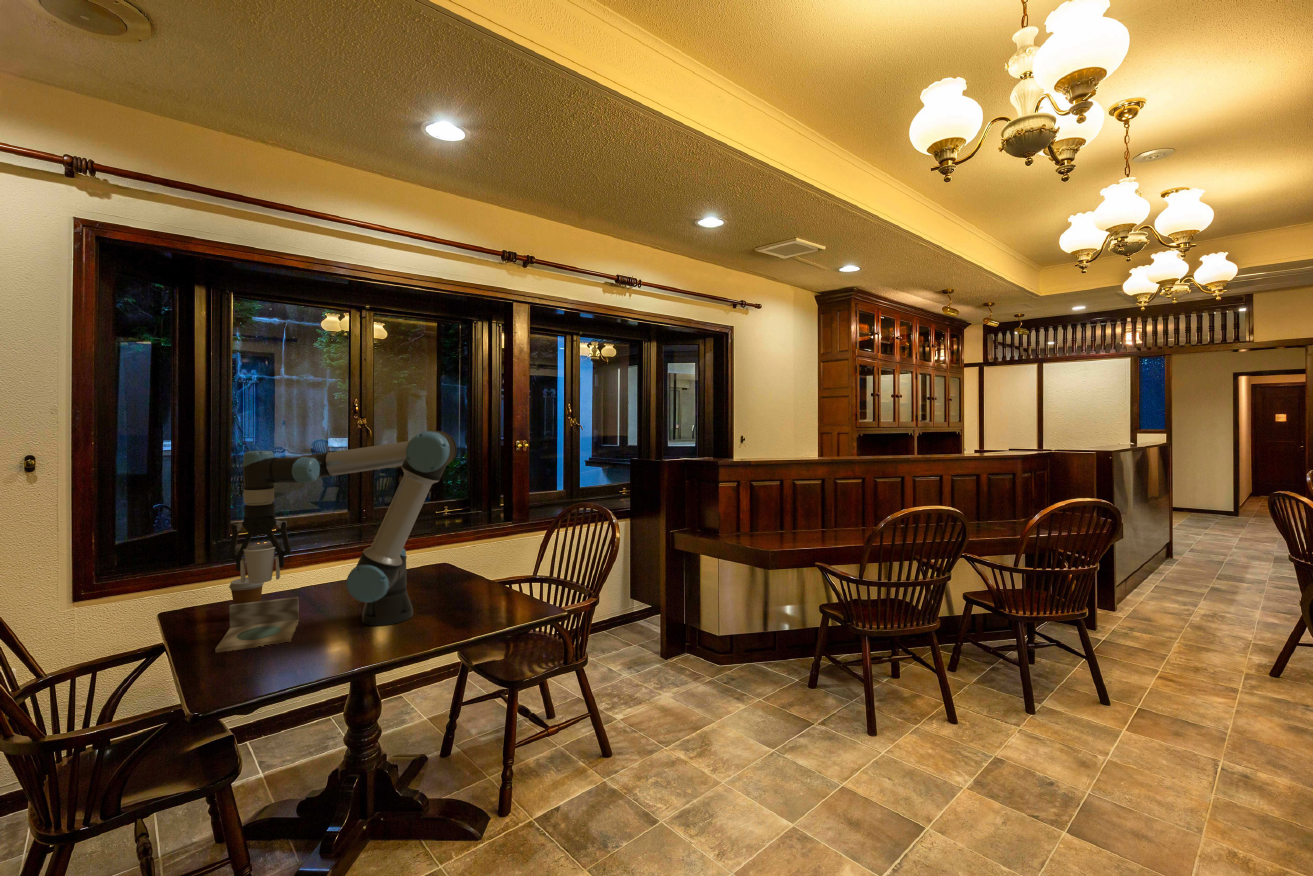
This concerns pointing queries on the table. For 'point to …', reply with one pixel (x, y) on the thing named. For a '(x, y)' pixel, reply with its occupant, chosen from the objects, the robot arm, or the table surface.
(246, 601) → the disposable coffee cup
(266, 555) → the dixie cup
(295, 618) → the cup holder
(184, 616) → the table surface
